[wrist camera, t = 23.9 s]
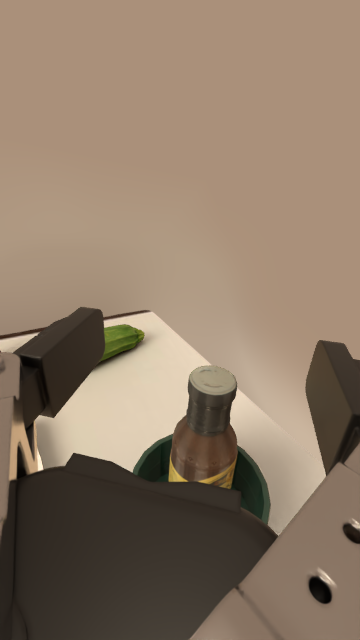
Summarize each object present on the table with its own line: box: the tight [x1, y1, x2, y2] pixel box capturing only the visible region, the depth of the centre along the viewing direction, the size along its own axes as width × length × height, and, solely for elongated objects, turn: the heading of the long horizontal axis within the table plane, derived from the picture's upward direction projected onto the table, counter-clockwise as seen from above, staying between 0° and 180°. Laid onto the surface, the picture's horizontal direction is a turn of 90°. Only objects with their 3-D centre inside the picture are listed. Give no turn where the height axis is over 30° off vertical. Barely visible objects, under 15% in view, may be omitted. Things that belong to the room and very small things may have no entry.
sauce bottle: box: [169, 366, 238, 489], centre depth 28 cm, size 6×6×20 cm
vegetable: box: [100, 324, 145, 361], centre depth 61 cm, size 7×7×20 cm
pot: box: [133, 434, 270, 525], centre depth 32 cm, size 14×14×7 cm
